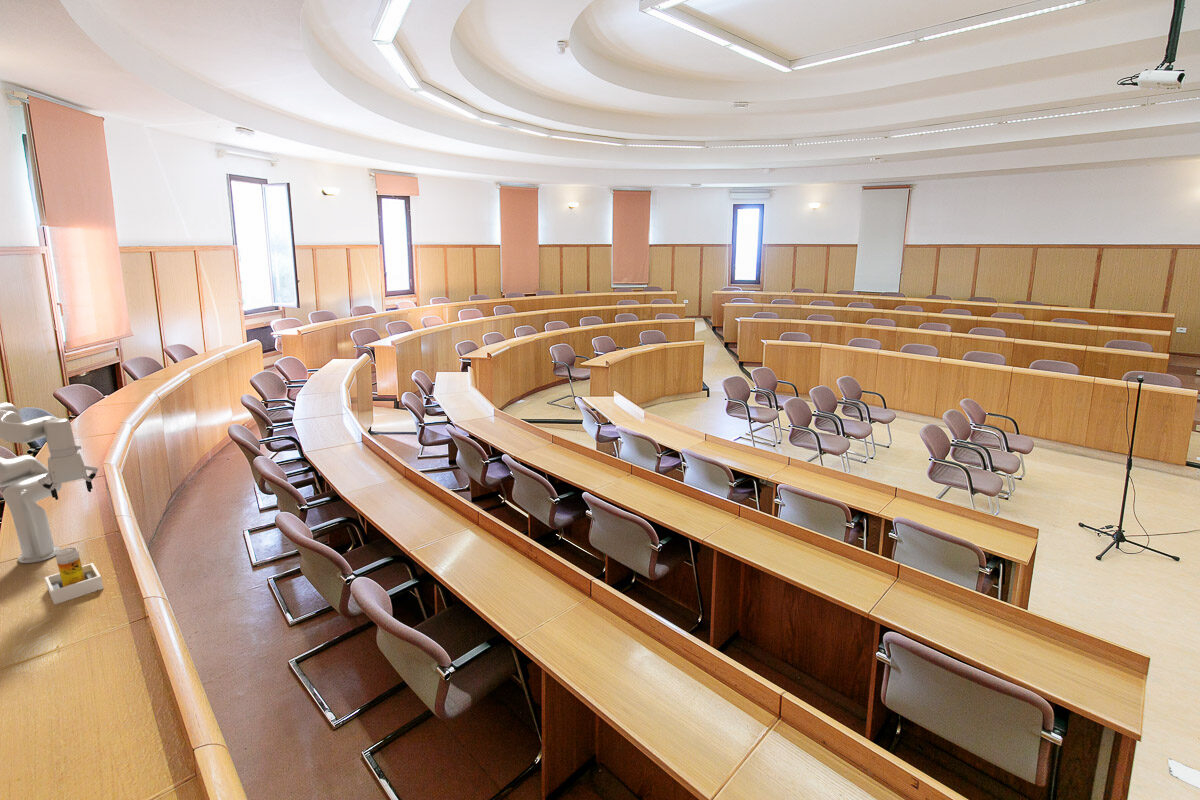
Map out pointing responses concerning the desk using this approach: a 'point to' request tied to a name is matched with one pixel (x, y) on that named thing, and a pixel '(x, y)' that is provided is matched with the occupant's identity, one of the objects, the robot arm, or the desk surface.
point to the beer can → (69, 566)
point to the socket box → (74, 585)
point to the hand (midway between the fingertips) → (73, 494)
